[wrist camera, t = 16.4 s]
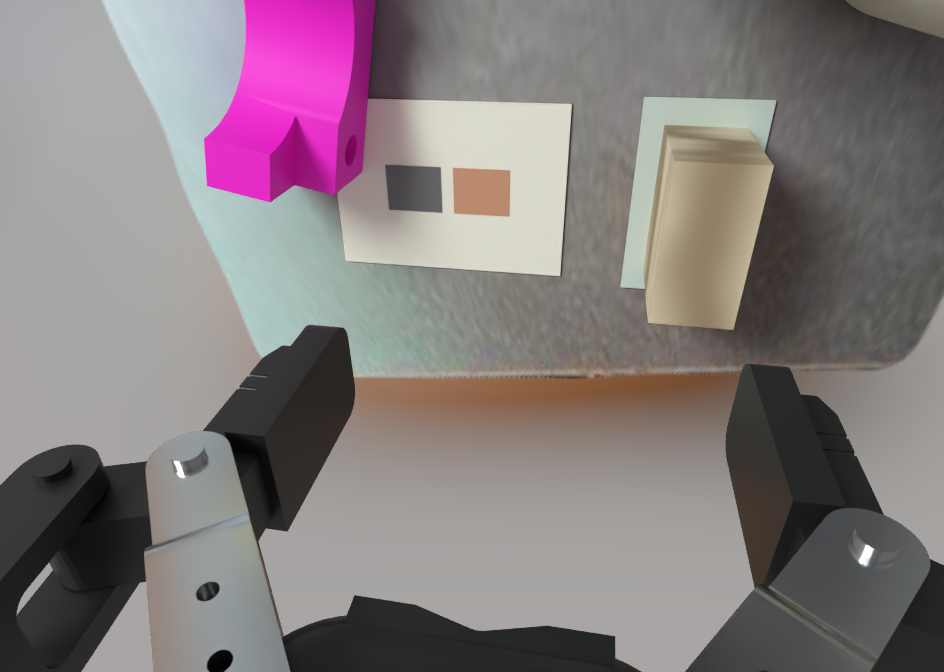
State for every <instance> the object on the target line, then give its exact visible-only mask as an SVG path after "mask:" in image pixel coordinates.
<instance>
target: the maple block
mask: <svg viewBox="0 0 944 672" xmlns="http://www.w3.org/2000/svg"><path fill="white" fill-rule="evenodd" d="M773 168H774V165H773V164H772V162H771V161H770V159H769V158H768V157H767V155H766V154H765V152H764V151H763V150H762V148H761V147H760V145H759V144H758V143H757V141H756V140H755V138H754V137H753V135H752V134H751V133H750V131H749V130H748V128H731V127H705V126H679V125H664V130H663V137H662V144H661V150H660V157H659V164H658V170H657V177H656V184H655V190H654V197H653V204H652V210H651V217H650V224H649V230H648V237H647V243H646V250H645V257H644V263H643V275H644V285H645V295H646V306H647V316H648V323H658V324H670V325H682V326H693V327H705V328H717V329H728V330H733V329H734V325H735V321H736V317H737V313H738V309H739V305H740V301H741V297H742V293H743V289H744V285H745V281H746V277H747V273H748V269H749V265H750V260H751V256H752V252H753V248H754V244H755V240H756V236H757V232H758V228H759V224H760V220H761V216H762V212H763V208H764V204H765V200H766V196H767V192H768V188H769V184H770V180H771V176H772V172H773Z"/></svg>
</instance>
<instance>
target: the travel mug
mask: <svg viewBox="0 0 944 672" xmlns="http://www.w3.org/2000/svg"><path fill="white" fill-rule="evenodd" d="M846 1H847V2H848V3H849V4H850V5H851V6H852V7H854V8H855V9H857V10H859V11H861V12H863V13H865V14H867V15H870V16H873V17H876V18H879V19H883V20H886V21H889V22H892V23H895V24H899V25H902V26H905V27H908V28H912V29H915V30H918V31H921V32H925V33H928V34H931V35H934V36H937V37H941V38H944V0H846Z"/></svg>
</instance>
